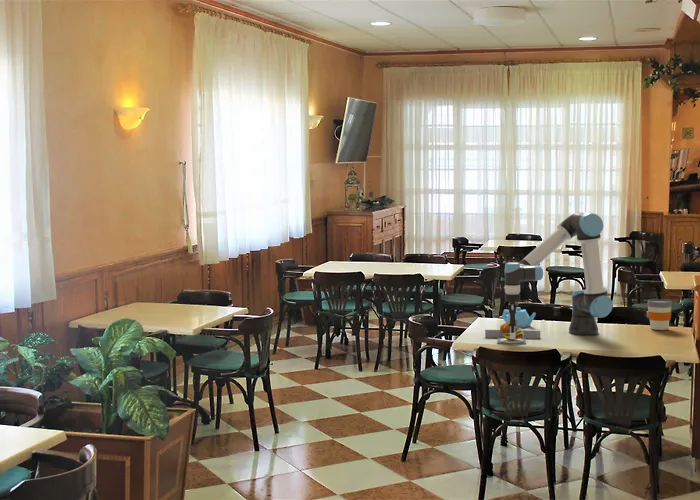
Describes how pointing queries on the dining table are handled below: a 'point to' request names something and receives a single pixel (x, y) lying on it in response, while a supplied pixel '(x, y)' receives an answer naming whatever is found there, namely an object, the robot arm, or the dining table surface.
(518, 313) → the teapot
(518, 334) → the cheeseburger
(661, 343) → the dining table surface
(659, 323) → the reusable coffee cup
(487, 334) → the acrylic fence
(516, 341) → the mat
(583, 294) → the robot arm
